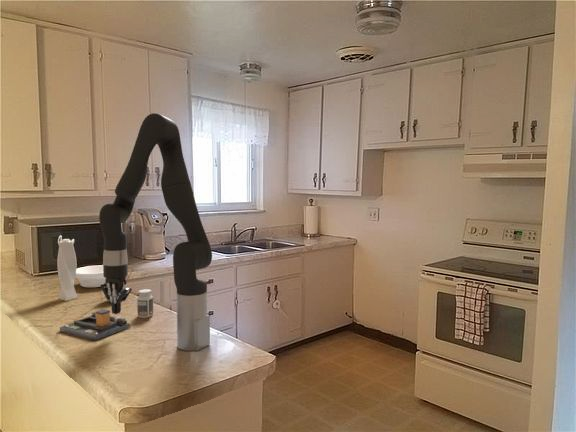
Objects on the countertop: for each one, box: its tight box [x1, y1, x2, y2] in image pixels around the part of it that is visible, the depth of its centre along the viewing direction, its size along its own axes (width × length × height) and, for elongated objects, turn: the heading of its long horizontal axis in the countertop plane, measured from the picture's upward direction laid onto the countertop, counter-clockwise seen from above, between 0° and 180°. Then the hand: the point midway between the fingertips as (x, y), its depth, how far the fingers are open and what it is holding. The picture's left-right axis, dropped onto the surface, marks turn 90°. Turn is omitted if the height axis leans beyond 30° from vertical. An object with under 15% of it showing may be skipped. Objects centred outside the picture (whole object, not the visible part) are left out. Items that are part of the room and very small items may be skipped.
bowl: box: [75, 264, 106, 288], centre depth 202 cm, size 21×21×8 cm
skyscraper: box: [56, 234, 78, 302], centre depth 177 cm, size 8×8×28 cm
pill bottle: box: [136, 288, 154, 319], centre depth 155 cm, size 6×6×10 cm
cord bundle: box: [90, 311, 128, 325], centre depth 145 cm, size 16×3×2 cm, turn 63°
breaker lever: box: [95, 308, 111, 327], centre depth 139 cm, size 3×3×6 cm
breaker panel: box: [59, 315, 131, 342], centre depth 141 cm, size 18×14×3 cm
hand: (116, 313), depth 136 cm, fingers closed
